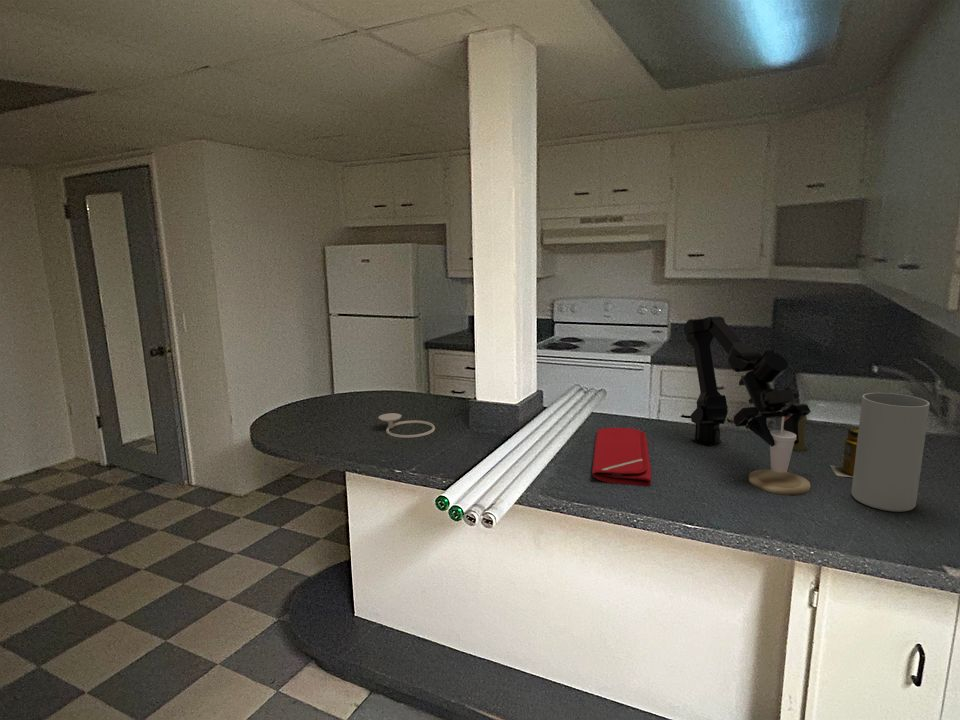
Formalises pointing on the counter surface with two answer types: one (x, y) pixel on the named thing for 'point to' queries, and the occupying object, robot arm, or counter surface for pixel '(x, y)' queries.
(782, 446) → the smoothie
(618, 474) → the dish drying mat
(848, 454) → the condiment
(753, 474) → the plate
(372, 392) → the counter surface
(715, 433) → the robot arm
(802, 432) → the cork
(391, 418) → the hand towel holder
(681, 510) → the counter surface
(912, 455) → the cylinder vase
